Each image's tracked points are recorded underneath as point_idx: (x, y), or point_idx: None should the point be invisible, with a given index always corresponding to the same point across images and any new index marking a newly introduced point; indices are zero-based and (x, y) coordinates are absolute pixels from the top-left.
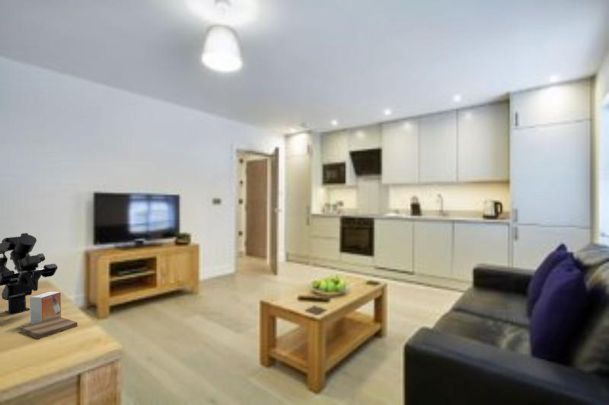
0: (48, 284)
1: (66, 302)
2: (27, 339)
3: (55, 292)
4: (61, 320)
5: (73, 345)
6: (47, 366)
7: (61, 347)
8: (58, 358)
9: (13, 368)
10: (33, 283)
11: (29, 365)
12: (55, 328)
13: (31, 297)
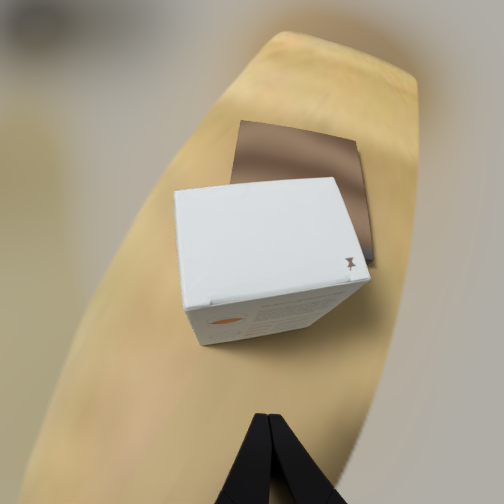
0: None
1: (30, 481)
2: (371, 176)
3: (200, 208)
4: (252, 179)
5: (317, 72)
6: (372, 66)
7: (335, 82)
8: (354, 66)
9: (409, 98)
10: (292, 477)
11: (390, 86)
12: (308, 135)
13: (366, 265)
